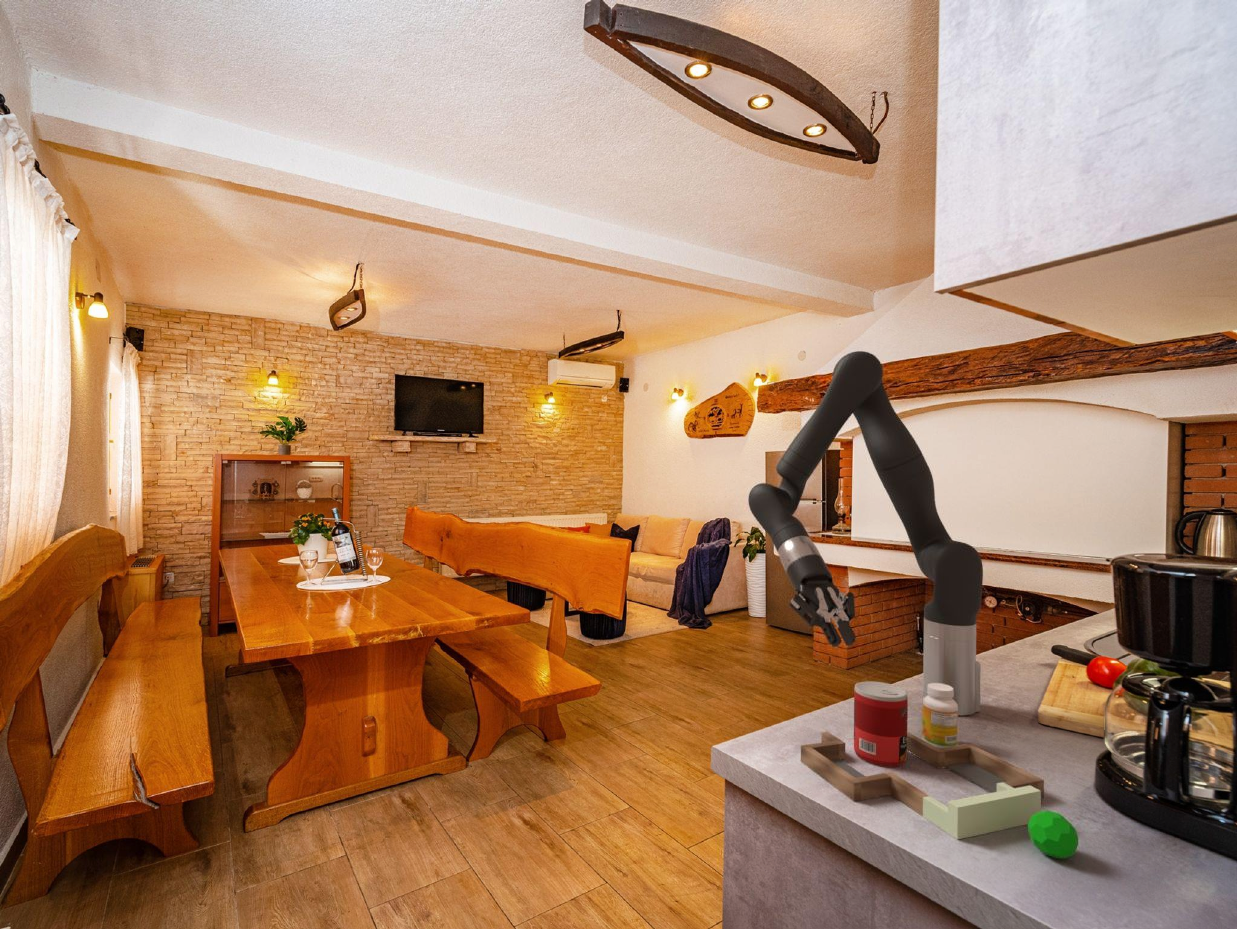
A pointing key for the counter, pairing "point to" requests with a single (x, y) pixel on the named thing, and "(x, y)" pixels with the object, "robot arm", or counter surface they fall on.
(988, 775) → the mats
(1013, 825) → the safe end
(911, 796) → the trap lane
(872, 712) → the canned food
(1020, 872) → the counter surface
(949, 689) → the supplement bottle
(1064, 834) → the polyhedron
